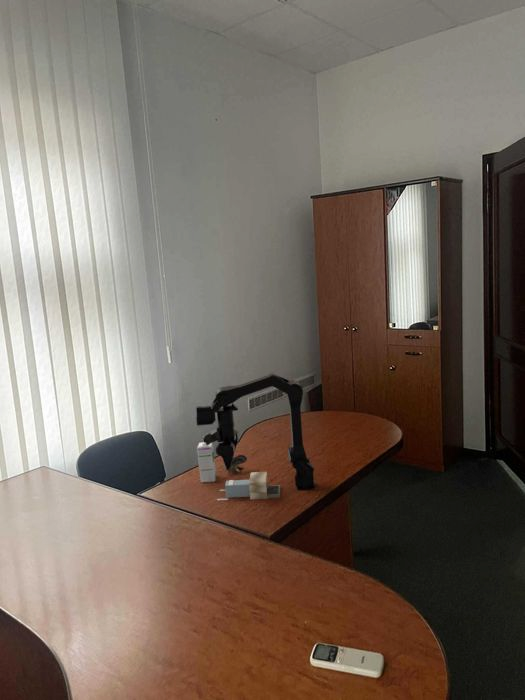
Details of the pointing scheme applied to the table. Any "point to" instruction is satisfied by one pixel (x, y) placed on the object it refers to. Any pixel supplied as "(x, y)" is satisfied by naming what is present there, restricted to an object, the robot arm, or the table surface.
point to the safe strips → (222, 499)
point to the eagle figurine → (236, 463)
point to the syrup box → (206, 462)
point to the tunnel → (258, 485)
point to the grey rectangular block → (237, 488)
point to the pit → (273, 491)
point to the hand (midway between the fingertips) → (229, 464)
